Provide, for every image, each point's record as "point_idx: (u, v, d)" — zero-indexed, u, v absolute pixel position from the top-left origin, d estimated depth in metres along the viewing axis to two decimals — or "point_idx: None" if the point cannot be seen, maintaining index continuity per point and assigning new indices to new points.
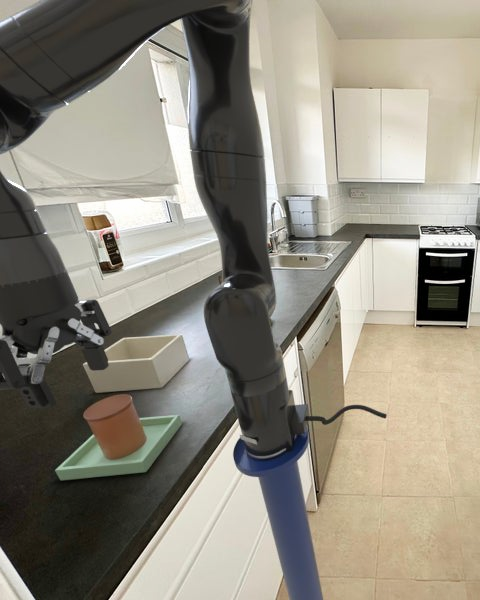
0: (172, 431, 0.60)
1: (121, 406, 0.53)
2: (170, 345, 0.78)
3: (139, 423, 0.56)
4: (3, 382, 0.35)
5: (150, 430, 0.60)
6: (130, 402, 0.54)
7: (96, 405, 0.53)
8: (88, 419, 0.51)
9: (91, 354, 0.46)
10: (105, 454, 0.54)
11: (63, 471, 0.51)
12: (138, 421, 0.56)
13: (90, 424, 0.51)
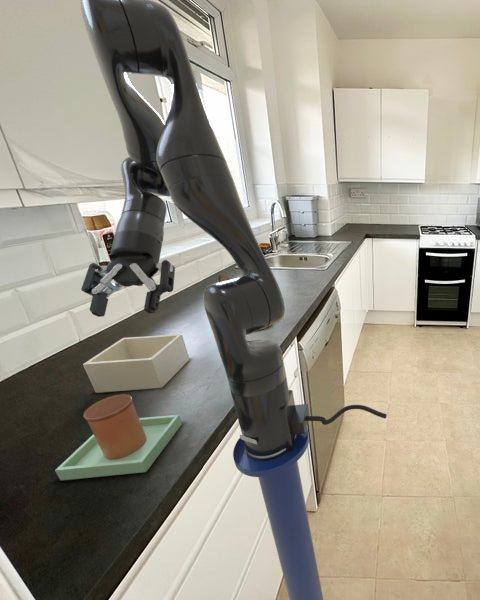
0: (172, 431, 0.60)
1: (121, 406, 0.53)
2: (170, 345, 0.78)
3: (139, 423, 0.56)
4: None
5: (150, 430, 0.60)
6: (130, 402, 0.54)
7: (96, 405, 0.53)
8: (88, 419, 0.51)
9: None
10: (105, 454, 0.54)
11: (63, 471, 0.51)
12: (138, 421, 0.56)
13: (90, 424, 0.51)
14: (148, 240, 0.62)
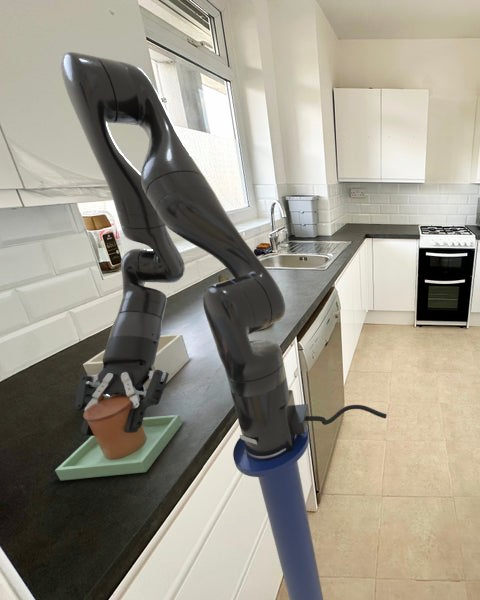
0: (172, 431, 0.60)
1: (121, 406, 0.53)
2: (170, 345, 0.78)
3: None
4: None
5: (150, 430, 0.60)
6: (130, 402, 0.54)
7: (96, 405, 0.53)
8: (88, 419, 0.51)
9: None
10: (105, 454, 0.54)
11: (63, 471, 0.51)
12: None
13: (90, 424, 0.51)
14: (142, 344, 0.58)
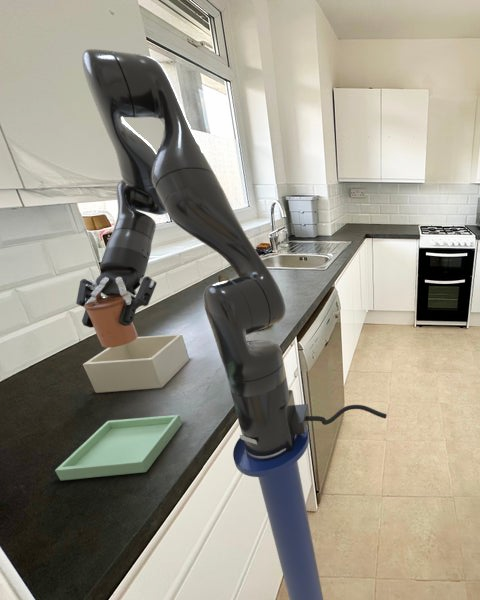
0: (172, 431, 0.60)
1: (115, 301, 0.63)
2: (170, 345, 0.78)
3: None
4: None
5: (150, 430, 0.60)
6: (123, 300, 0.64)
7: (95, 301, 0.64)
8: (88, 308, 0.61)
9: None
10: (102, 342, 0.64)
11: (63, 471, 0.51)
12: None
13: (89, 313, 0.61)
14: (133, 255, 0.68)
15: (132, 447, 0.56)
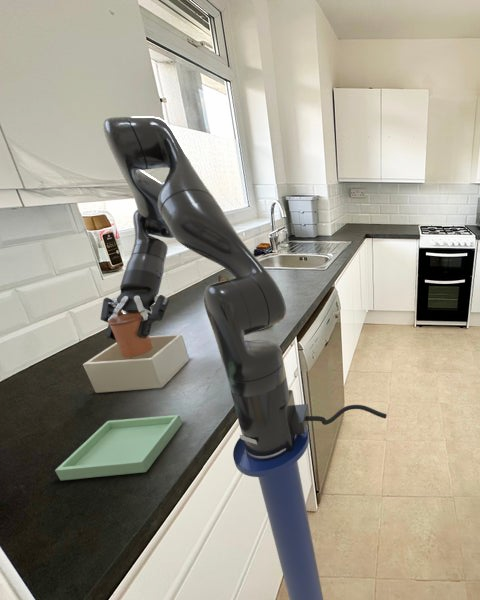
0: (172, 431, 0.60)
1: (134, 317, 0.73)
2: (170, 345, 0.78)
3: None
4: None
5: (150, 430, 0.60)
6: (141, 316, 0.74)
7: (117, 317, 0.73)
8: (111, 323, 0.71)
9: None
10: (123, 353, 0.74)
11: (63, 471, 0.51)
12: None
13: (112, 328, 0.71)
14: (149, 276, 0.78)
15: (132, 447, 0.56)
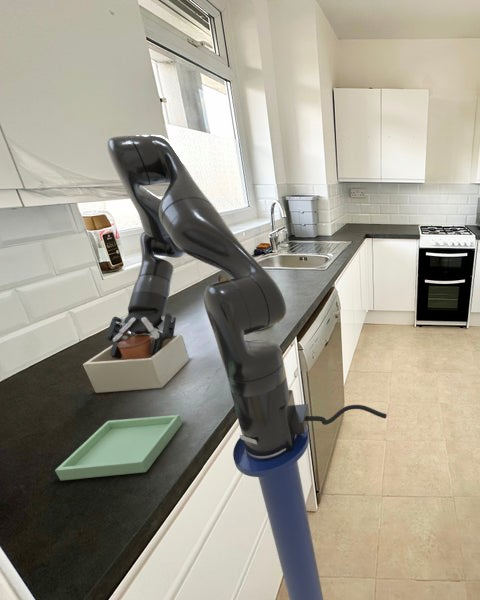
0: (172, 431, 0.60)
1: (143, 340, 0.75)
2: (170, 345, 0.78)
3: None
4: None
5: (150, 430, 0.60)
6: (149, 338, 0.77)
7: (125, 340, 0.76)
8: (121, 347, 0.73)
9: None
10: None
11: (63, 471, 0.51)
12: None
13: (122, 351, 0.73)
14: (156, 298, 0.80)
15: (132, 447, 0.56)
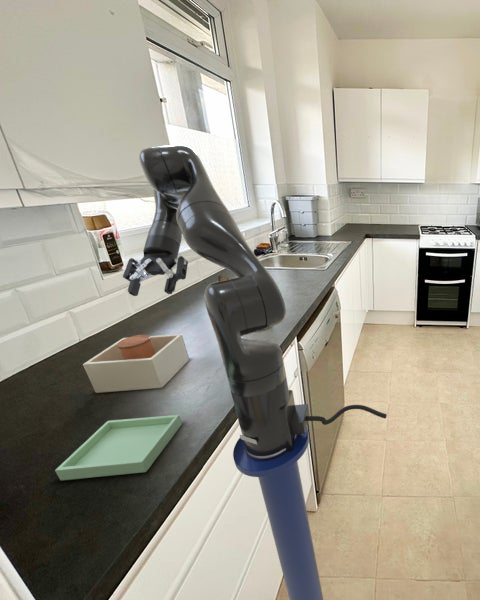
0: (172, 431, 0.60)
1: (143, 340, 0.75)
2: (170, 345, 0.78)
3: None
4: None
5: (150, 430, 0.60)
6: (149, 338, 0.77)
7: (125, 340, 0.76)
8: (121, 347, 0.73)
9: None
10: None
11: (63, 471, 0.51)
12: (154, 353, 0.78)
13: (122, 351, 0.73)
14: (169, 242, 0.85)
15: (132, 447, 0.56)
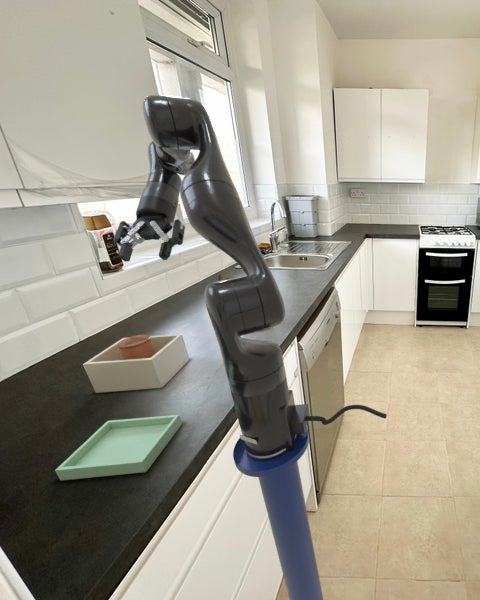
0: (172, 431, 0.60)
1: (143, 340, 0.75)
2: (170, 345, 0.78)
3: None
4: None
5: (150, 430, 0.60)
6: (149, 338, 0.77)
7: (125, 340, 0.76)
8: (121, 347, 0.73)
9: None
10: None
11: (63, 471, 0.51)
12: (154, 353, 0.78)
13: (122, 351, 0.73)
14: (165, 204, 0.77)
15: (132, 447, 0.56)
